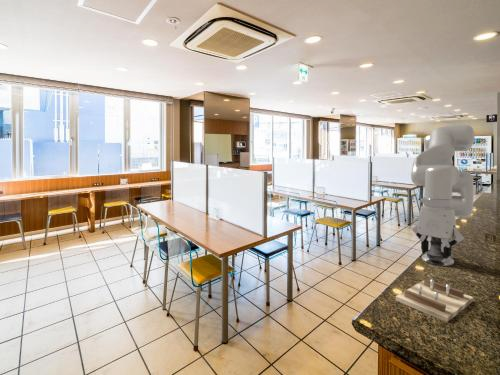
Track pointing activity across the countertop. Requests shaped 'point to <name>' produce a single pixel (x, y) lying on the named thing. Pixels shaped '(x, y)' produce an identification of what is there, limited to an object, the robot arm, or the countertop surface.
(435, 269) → the countertop surface
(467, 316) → the countertop surface
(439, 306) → the pin stand
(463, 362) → the countertop surface
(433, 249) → the weathered chess pawn
